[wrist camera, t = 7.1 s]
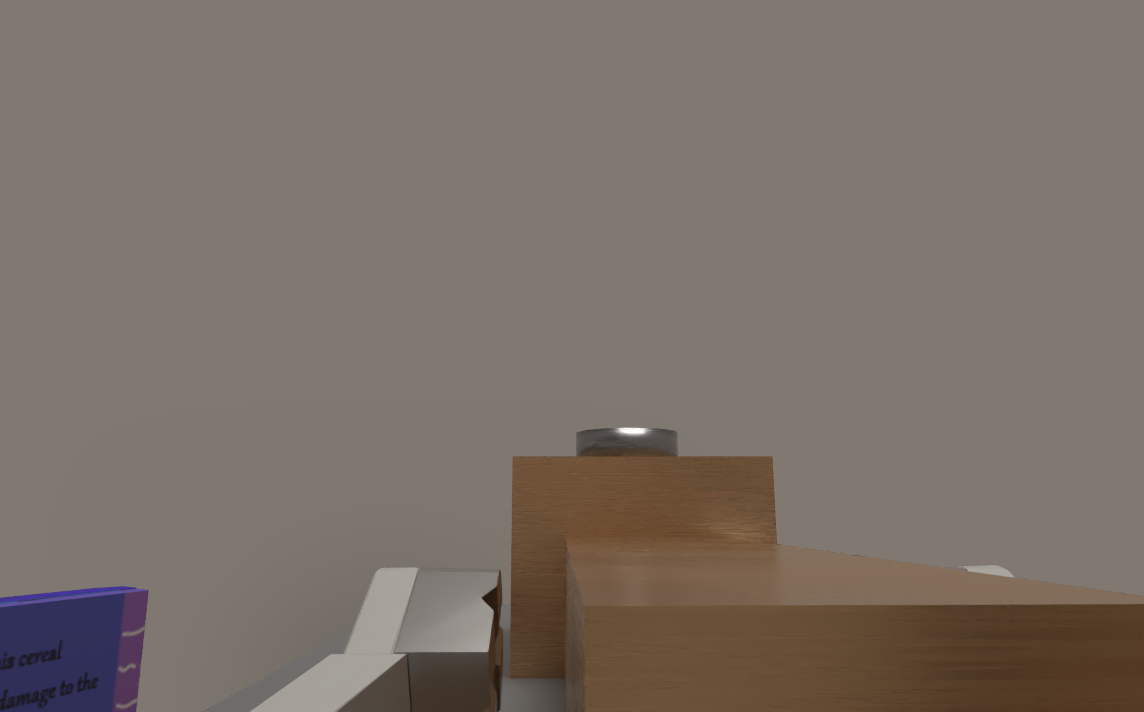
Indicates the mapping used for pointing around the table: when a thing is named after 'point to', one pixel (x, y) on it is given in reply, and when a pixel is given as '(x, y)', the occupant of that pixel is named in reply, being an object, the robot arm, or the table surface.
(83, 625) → the cereal box
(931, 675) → the brown flat block
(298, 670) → the plain gray box
